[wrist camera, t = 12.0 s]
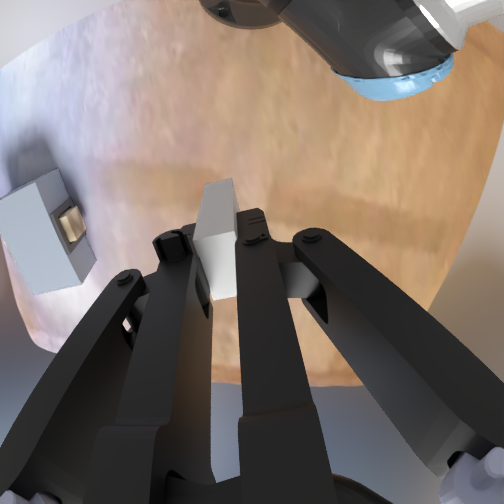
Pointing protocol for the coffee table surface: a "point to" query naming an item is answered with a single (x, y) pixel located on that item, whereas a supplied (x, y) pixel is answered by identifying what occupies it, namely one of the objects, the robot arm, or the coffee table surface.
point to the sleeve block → (43, 235)
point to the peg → (70, 224)
